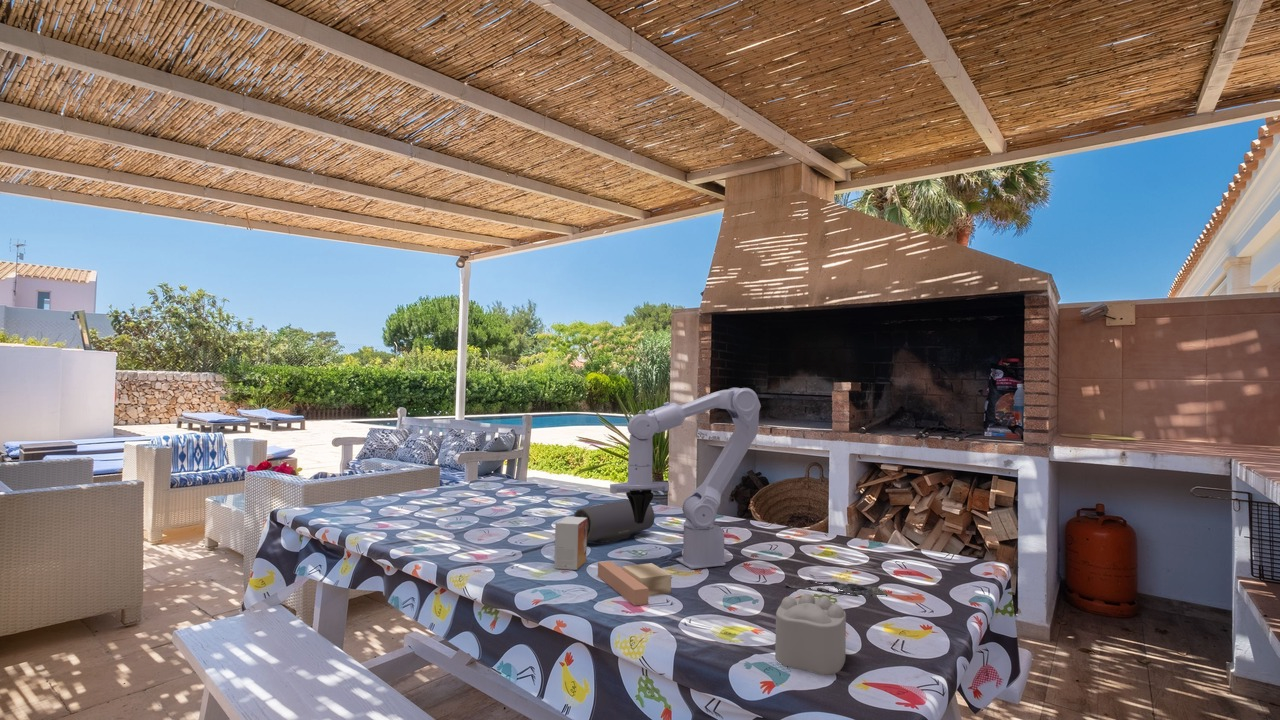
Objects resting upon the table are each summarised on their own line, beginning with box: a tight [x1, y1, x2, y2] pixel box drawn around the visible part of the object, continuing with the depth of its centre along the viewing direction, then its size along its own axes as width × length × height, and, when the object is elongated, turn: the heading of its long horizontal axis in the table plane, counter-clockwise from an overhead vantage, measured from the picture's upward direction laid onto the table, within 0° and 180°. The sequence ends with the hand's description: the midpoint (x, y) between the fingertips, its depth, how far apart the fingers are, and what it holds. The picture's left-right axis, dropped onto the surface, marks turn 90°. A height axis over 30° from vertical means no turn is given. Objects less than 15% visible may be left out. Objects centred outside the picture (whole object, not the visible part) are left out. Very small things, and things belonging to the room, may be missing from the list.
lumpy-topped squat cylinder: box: [774, 593, 847, 676], centre depth 102 cm, size 10×13×9 cm
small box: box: [553, 516, 588, 571], centre depth 149 cm, size 8×6×10 cm
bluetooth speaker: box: [573, 500, 655, 543], centre depth 175 cm, size 23×9×10 cm, turn 133°
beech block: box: [621, 562, 672, 597], centre depth 133 cm, size 7×9×4 cm
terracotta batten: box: [597, 560, 649, 607], centre depth 132 cm, size 3×20×3 cm, turn 24°
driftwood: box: [785, 579, 888, 597], centre depth 136 cm, size 21×7×2 cm, turn 70°
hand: (638, 522), depth 150 cm, fingers closed
